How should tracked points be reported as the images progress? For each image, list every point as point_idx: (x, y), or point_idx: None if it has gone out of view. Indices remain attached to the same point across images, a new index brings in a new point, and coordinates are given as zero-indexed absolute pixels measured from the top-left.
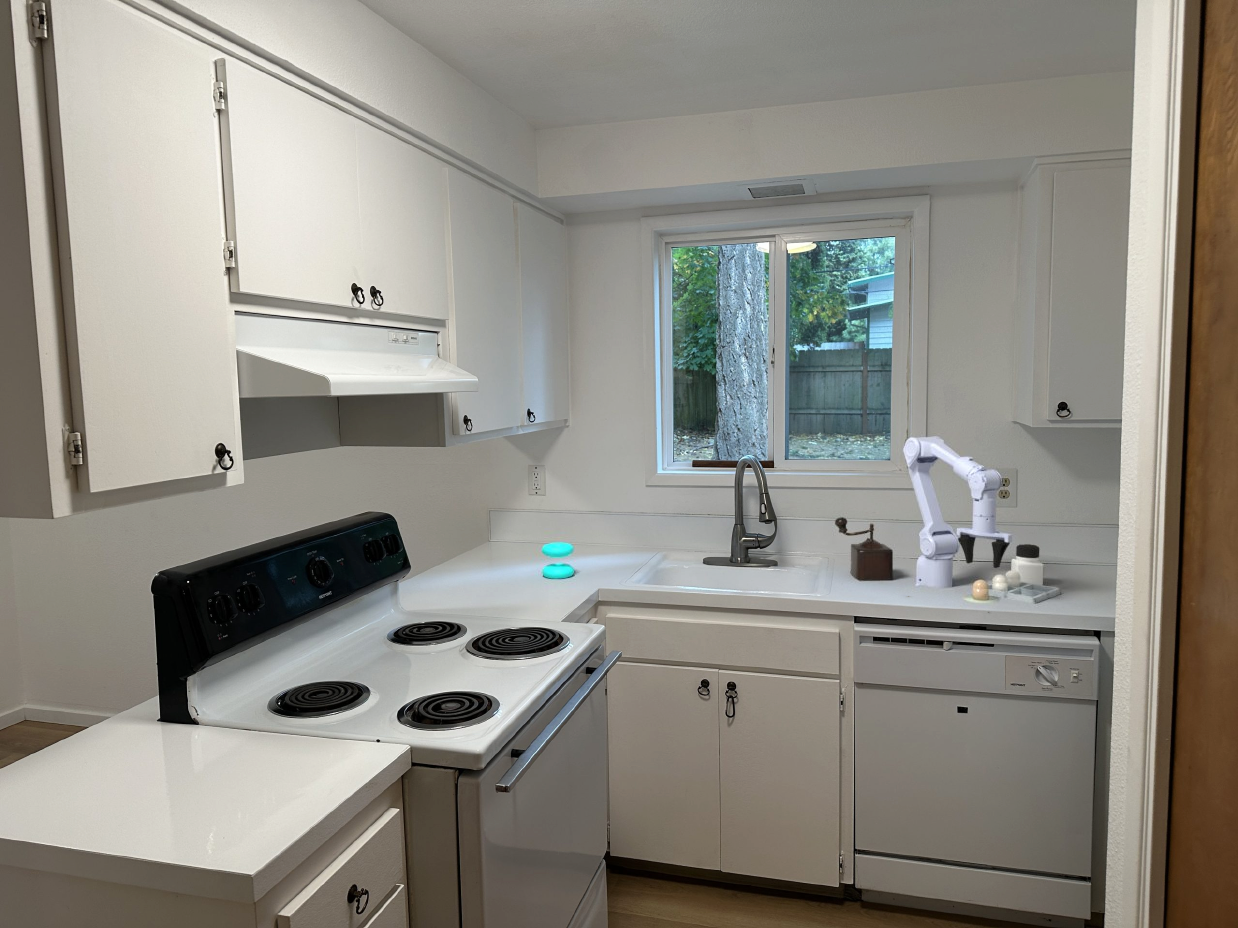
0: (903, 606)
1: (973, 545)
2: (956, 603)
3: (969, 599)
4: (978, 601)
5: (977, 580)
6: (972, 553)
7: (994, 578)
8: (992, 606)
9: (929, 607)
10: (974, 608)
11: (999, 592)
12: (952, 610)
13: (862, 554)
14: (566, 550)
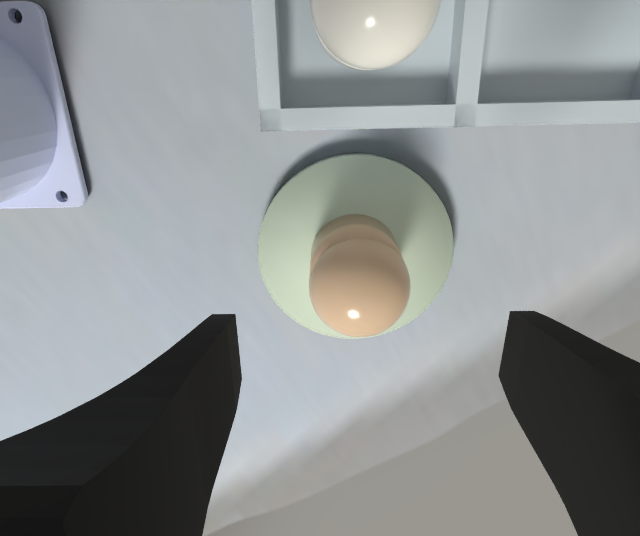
0: None
1: (166, 421)
2: (286, 357)
3: None
4: None
5: (341, 317)
6: (207, 368)
7: (350, 53)
8: (442, 288)
9: (249, 478)
10: (393, 375)
11: (417, 127)
12: (341, 457)
13: None
14: None
